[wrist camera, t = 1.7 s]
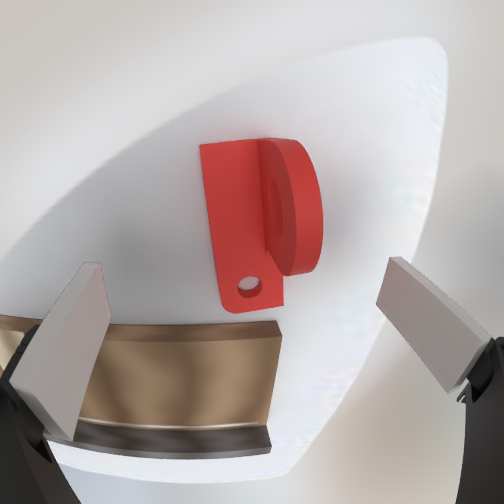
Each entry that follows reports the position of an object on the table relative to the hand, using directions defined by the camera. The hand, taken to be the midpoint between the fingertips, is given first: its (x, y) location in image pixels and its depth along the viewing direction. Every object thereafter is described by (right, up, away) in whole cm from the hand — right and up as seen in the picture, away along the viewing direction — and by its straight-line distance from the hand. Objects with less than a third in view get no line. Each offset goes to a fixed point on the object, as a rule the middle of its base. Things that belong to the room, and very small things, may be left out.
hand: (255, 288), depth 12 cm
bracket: (-1, +3, +7) cm, 8 cm away
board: (-14, -12, +11) cm, 22 cm away
